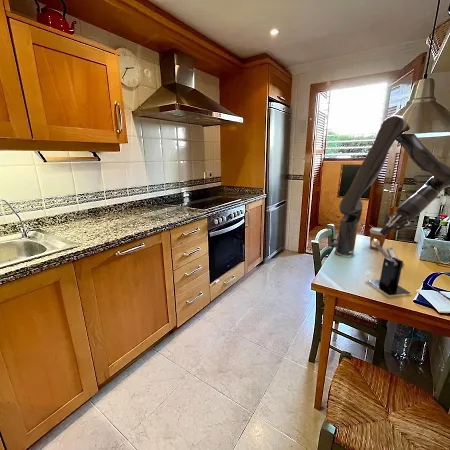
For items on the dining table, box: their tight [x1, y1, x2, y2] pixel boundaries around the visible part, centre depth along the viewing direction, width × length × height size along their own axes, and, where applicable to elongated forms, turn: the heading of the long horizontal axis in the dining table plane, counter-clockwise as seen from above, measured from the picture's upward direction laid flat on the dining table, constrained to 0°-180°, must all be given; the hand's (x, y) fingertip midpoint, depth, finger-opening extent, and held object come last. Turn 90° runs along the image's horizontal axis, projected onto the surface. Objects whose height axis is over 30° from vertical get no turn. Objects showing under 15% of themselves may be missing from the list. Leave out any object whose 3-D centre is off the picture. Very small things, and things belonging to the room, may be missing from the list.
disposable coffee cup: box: [369, 227, 388, 251], centre depth 149 cm, size 10×10×12 cm
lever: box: [371, 239, 398, 268], centre depth 106 cm, size 15×4×4 cm, turn 10°
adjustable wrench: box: [387, 247, 404, 266], centre depth 136 cm, size 25×6×2 cm, turn 148°
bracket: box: [368, 257, 411, 296], centre depth 103 cm, size 12×10×14 cm
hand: (382, 233), depth 110 cm, fingers closed
